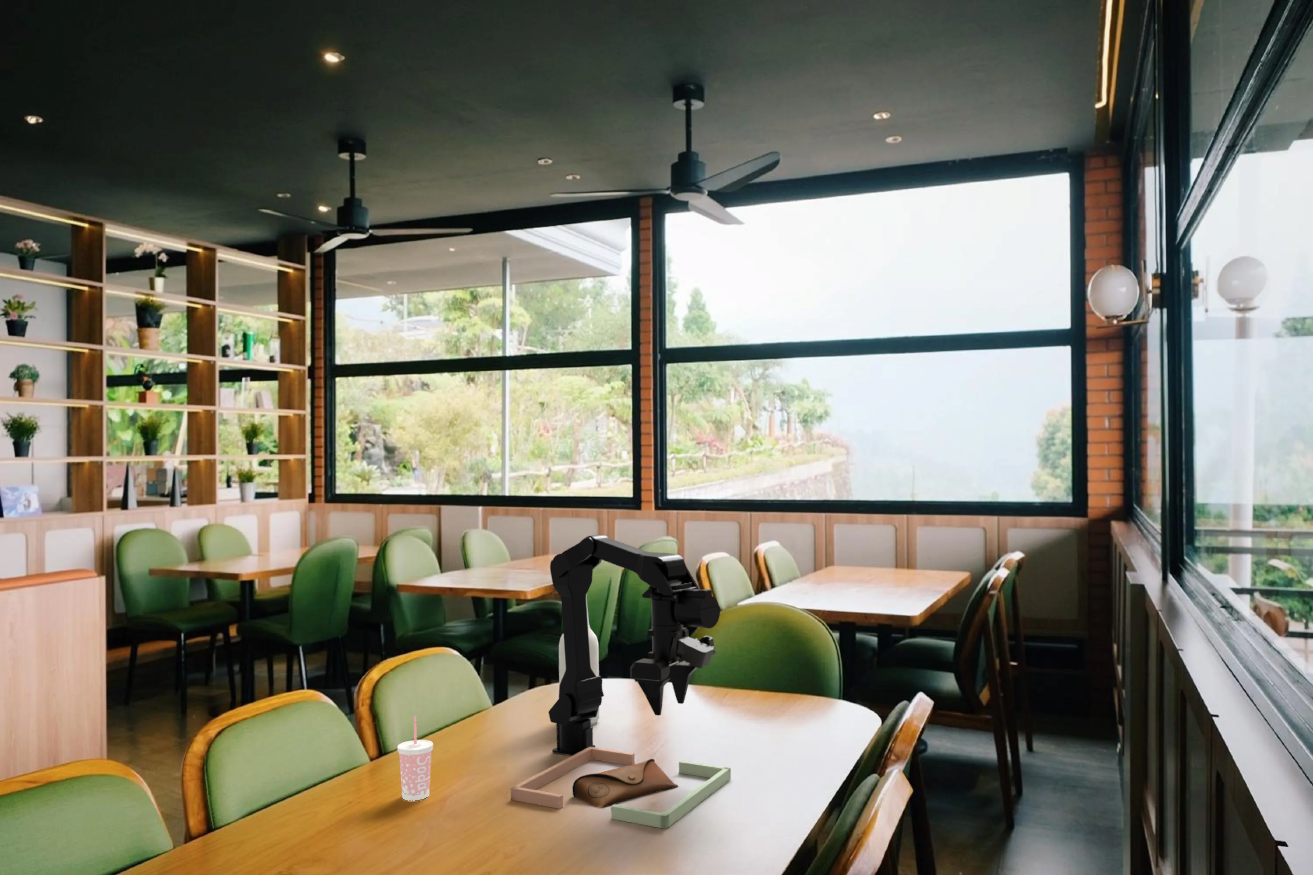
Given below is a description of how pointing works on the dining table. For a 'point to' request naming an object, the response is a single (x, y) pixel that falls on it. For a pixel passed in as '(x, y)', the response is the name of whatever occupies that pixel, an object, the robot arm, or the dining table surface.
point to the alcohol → (593, 658)
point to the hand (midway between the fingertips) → (669, 709)
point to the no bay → (528, 787)
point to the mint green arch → (674, 813)
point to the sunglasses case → (621, 784)
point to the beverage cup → (415, 767)
